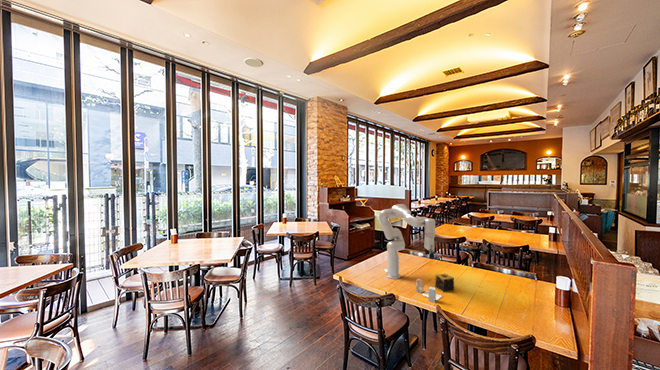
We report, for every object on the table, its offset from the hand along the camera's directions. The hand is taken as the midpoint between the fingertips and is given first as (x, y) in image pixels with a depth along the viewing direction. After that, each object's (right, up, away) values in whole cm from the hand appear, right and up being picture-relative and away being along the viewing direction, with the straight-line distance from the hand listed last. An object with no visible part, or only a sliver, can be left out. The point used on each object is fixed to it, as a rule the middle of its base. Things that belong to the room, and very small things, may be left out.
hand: (429, 256), depth 200 cm
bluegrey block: (-4, -27, -15) cm, 31 cm away
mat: (-1, -27, -8) cm, 28 cm away
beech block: (-8, -27, -1) cm, 28 cm away
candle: (+14, -27, +4) cm, 30 cm away
